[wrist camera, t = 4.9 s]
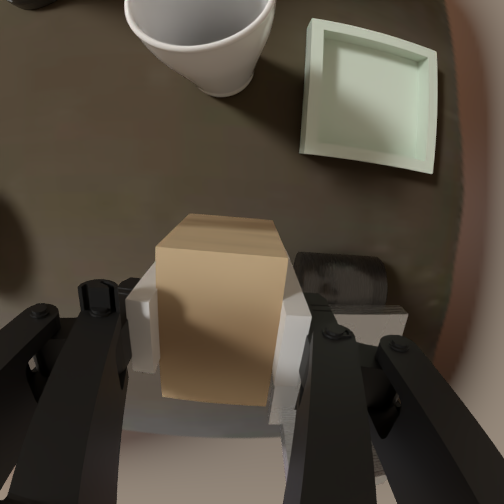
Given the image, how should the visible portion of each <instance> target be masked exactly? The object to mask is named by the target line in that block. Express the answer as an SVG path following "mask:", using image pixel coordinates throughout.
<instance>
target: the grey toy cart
mask: <svg viewBox="0 0 504 504" xmlns="http://www.w3.org/2000/svg"><path fill="white" fill-rule="evenodd" d="M293 269H294V271H295V274H296V276H297V279H298V281H299V284H300V287H301V289H302V292H308V293H319V294H320V295H321V296H322V297H324V298H325V299H326V300H327V302H328V304H329V307H330V308H331V310H332V312H333V314H334V316H335V318H336V320H337V322H338V324H339V325H342V326H344V327H347V328H348V329H350V330H351V331H352V332H353V333H354V335H355V338H356V342H359V343H363V344H367V345H373V346H378V345H379V342H380V339H381V338H382V337H383V336H386V335H401V336H402V334H403V331H404V327H405V324H406V321H407V318H408V313H407V312H406V311H405V310H404V309H403V308H402V307H401V305H385V304H386V298H387V276H386V271H385V268H384V265H383V263H382V261H381V260H380V259H379V258H378V257H371V256H356V255H341V254H325V253H310V252H298V253H297V255H296V258H295V262H294V267H293ZM300 385H301V379H300V375H299V378H298V382H297V386H274V381H272V388H271V395H270V401H269V408H268V422H269V424H280V433H281V442H282V450H283V460H284V469H285V478H286V482H287V476H288V469H289V462H290V456H291V449H292V441H293V434H294V426H295V418H296V410H294V409H295V405H296V401H297V397H298V393H299V389H300ZM371 443H372V441H371ZM372 453H373V463H374V474H375V485H379V484H383V483H384V482H385V481H386V479H387V477H386V475H385V472H384V470H383V467H382V465H381V463H380V460H379V458H378V455H377V453H376V451H375V448H374V446H373V444H372Z"/></svg>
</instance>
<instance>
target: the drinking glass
mask: <svg viewBox="0 0 504 504" xmlns="http://www.w3.org/2000/svg"><path fill="white" fill-rule="evenodd" d="M275 9H276V0H125V2H124V10H125V16H126V19H127V22H128V24H129V26H130V28H131V29H132V31H133V32H134V33H135V34H136V35H137V36H138V38H139V39H140V40H141V42H142V43H143V44H144V45H145V46H146V47H147V49H148V50H149V51H150V52H151V53H152V54H153V55H154V56H155V57H156V58H158V59H159V60H160V61H161V62H162V63H164V64H165V65H166V66H167V67H169V68H170V69H172V70H173V71H175V72H176V73H178V74H180V75H181V76H183V77H184V78H186V79H187V80H189V81H191V82H192V83H193V84H195V85H196V86H197V87H198V88H199V89H200V90H201V91H202V92H204V93H206V94H208V95H211V96H215V97H228V96H232V95H235V94H237V93H239V92H240V91H242V90H243V89H244V88H246V87H247V85H248V84H249V83H250V81H251V80H252V77H253V75H254V70H255V67H256V64H257V62H258V60H259V58H260V56H261V54H262V51H263V49H264V47H265V45H266V43H267V41H268V38H269V35H270V32H271V29H272V25H273V21H274V16H275Z"/></svg>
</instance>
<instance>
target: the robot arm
mask: <svg viewBox="0 0 504 504" xmlns="http://www.w3.org/2000/svg"><path fill="white" fill-rule="evenodd" d="M7 1H8V2H9V3H11V4H13V5H15V6H17V7H19V8H21V9H27V10H30V9H37V8H40V7H43V6H46V5H48V4H51V3H53V2H55V1H57V0H7ZM285 251H286V250H285ZM286 253H287V251H286ZM287 256H288V253H287ZM288 258H289V256H288ZM78 293H79V301H80V308H81V312H80V314H79V316H78V317H77V318H60V317H59V311H58V308H57V307H56V306H54V305H51V304H45V303H41V304H40V303H39V304H36V305H33V306H31V307H29V308H27V309H26V310H24V311H23V312H22V313H20V314H19V315H18V316H17V317H16V318H14V319H13V320H12V321H11V322H9V323H8V324H7V325H6V326H5V327H3V328H2V329H1V330H0V490H1V488H2V486H3V485H4V483H5V481H6V480H7V478H8V476H9V474H10V473H11V471H12V470H13V468H14V467H15V465H16V468H15V471H14V474H13V478H12V482H11V485H10V489H9V492H8V495H7V497H6V498H5V499H4V500H0V504H116V502H117V481H118V465H119V453H120V442H121V432H122V423H123V415H124V407H125V399H126V392H127V385H128V378H129V377H128V370H127V365H128V363H129V361H130V359H131V360H132V367H133V371H138V372H144V373H151V374H154V373H155V371H156V368H157V365H158V363H159V360H160V345H159V326H158V295H157V289H156V261H155V262H154V264H153V265H152V266H151V267H150V268H149V270H148V271H147V272H146V273H145V275H144V276H143V277H142V278H141V279H140V278H129V279H127V280H125V281H122V282H121V283H120V284H119V286H118V285H117V284H116V283H115V282H113V281H110V280H104V279H96V280H90V281H86V282H84V283H82V284H80V285H79V286H78ZM32 357H33V359H34V362H35V365H36V367H35V368H34V369H33V370H31V369H30V367H29V364H28V362H29V360H30V359H31V358H32ZM272 372H273V381H274V386H297V382H298V378H299V375H300V379H301V385H300V389H299V393H298V397H297V401H296V405H295V409H294V410H296V418H295V426H294V434H293V441H292V449H291V456H290V462H289V469H288V476H287V482H286V489H285V494H284V501H283V504H377V501H376V486H375V474H374V463H373V453H372V444H373V446H374V448H375V451H376V453H377V455H378V458H379V460H380V463H381V465H382V467H383V470H384V472H385V475H386V477H387V479H388V482H389V484H390V487H391V489H392V492H393V494H394V497H395V499H396V502H397V504H504V458H503V457H502V455H501V454H500V452H499V451H498V450H497V448H496V447H495V445H494V444H493V442H492V441H491V440H490V438H489V437H488V435H487V434H486V433H485V431H484V430H483V429H482V427H481V426H480V425H479V423H478V422H477V421H476V419H475V418H474V416H473V415H472V414H471V413H470V411H469V410H468V409H467V407H466V406H465V405H464V403H463V402H462V401H461V400H460V398H459V397H458V396H457V394H456V393H455V392H454V390H453V389H452V388H451V387H450V385H449V384H448V383H447V382H446V380H445V379H444V378H443V377H442V376H441V374H440V373H439V372H438V370H437V369H436V368H435V367H434V365H433V364H432V363H431V362H430V361H429V359H428V358H427V357H426V356H425V354H424V353H423V352H422V351H421V350H420V348H419V347H418V346H417V345H416V344H415V343H414V342H413V341H412V340H410V339H408V338H406V337H404V336H401V335H386V336H383V337H382V338H381V339H380V342H379V345H378V346H373V345H367V344H363V343H359V342H356V338H355V335H354V333H353V332H352V331H351V330H350V329H348V328H347V327H344V326H342V325H339V324H338V322H337V320H336V318H335V316H334V314H333V312H332V310H331V308H330V307H329V304H328V302H327V300H326V299H325V298H324V297H322V296H321V295H320V294H319V293H308V292H302V289H301V287H300V284H299V281H298V279H297V276H296V274H295V271H294V269H293V266H292V263H291V261H290V258H289V259H288V266H287V273H286V281H285V288H284V295H283V302H282V309H281V315H280V322H279V329H278V335H277V342H276V348H275V354H274V360H273V366H272ZM398 398H400V400H401V404H400V403H399V401H398ZM371 441H372V443H371ZM16 463H17V464H16Z"/></svg>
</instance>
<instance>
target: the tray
mask: <svg viewBox="0 0 504 504" xmlns="http://www.w3.org/2000/svg"><path fill="white" fill-rule="evenodd" d="M437 99H438V79H437V52H436V51H433V50H431V49H428V48H425V47H423V46H420V45H417V44H414V43H411V42H408V41H405V40H402V39H399V38H396V37H393V36H389V35H386V34H382V33H379V32H375V31H371V30H368V29H364V28H360V27H355V26H351V25H347V24H342V23H337V22H332V21H327V20H321V19H315V18H312V19H311V21H310V23H309V25H308V27H307V38H306V59H305V77H304V94H303V109H302V123H301V136H300V149H299V153H300V154H310V155H318V156H326V157H334V158H341V159H349V160H355V161H362V162H368V163H374V164H380V165H386V166H392V167H397V168H403V169H408V170H413V171H418V172H423V173H429V174H433V166H434V156H435V144H436V128H437Z"/></svg>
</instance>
